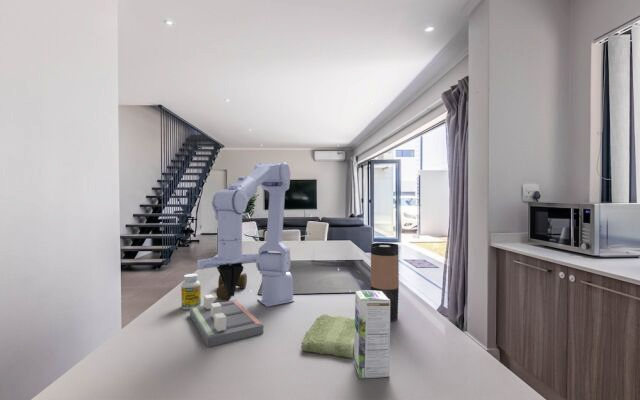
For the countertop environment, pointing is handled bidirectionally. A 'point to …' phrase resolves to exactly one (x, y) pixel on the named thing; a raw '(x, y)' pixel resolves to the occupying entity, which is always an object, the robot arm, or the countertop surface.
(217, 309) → the handle middle
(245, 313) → the switch panel
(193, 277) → the supplement bottle
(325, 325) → the washcloth
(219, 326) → the handle
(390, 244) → the travel mug
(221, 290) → the kendama
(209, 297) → the handle right
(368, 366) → the syrup box
